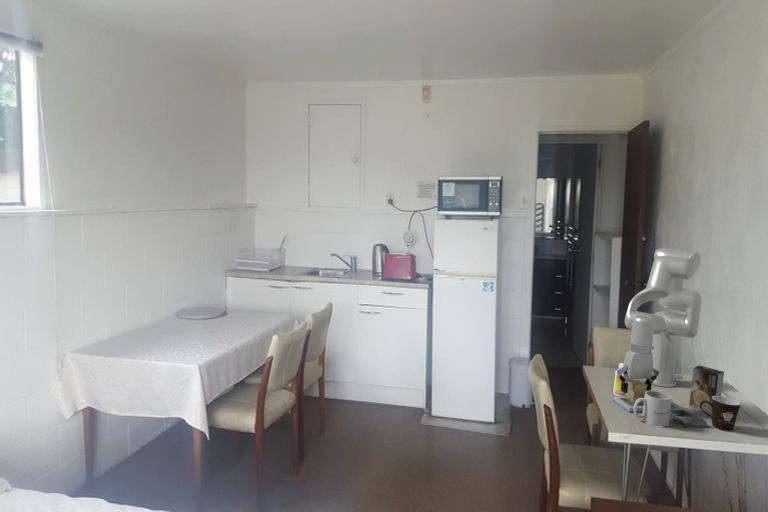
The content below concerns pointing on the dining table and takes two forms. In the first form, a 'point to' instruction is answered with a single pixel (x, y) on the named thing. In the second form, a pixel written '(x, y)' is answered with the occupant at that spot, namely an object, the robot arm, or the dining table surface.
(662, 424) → the mug
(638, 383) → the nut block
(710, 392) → the coffee box
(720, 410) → the coffee mug
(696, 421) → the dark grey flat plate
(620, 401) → the parts tray
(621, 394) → the supplement bottle
